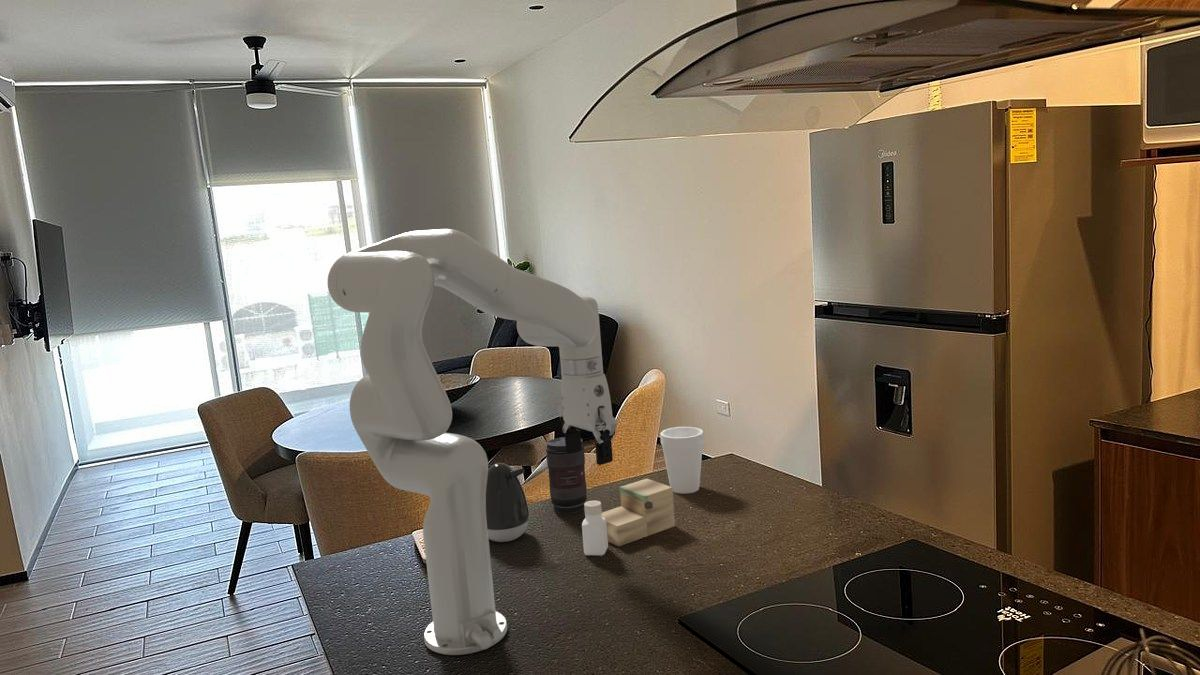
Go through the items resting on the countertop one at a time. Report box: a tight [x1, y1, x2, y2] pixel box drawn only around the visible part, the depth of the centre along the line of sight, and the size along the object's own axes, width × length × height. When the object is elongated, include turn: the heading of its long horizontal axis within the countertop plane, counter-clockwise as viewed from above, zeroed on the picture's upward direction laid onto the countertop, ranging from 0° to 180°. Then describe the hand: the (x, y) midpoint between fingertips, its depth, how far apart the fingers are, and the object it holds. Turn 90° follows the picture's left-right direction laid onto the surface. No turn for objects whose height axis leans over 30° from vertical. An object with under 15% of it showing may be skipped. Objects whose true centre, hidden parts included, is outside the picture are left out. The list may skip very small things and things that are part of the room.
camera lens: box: [545, 436, 588, 515], centre depth 178 cm, size 8×8×15 cm
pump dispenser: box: [486, 462, 531, 543], centre depth 165 cm, size 10×10×15 cm
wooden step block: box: [602, 478, 676, 547], centre depth 163 cm, size 9×14×8 cm, turn 126°
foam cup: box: [659, 426, 705, 495], centre depth 185 cm, size 10×9×13 cm
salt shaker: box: [581, 500, 609, 556], centre depth 155 cm, size 4×4×10 cm
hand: (589, 457), depth 153 cm, fingers open, 9 cm apart
